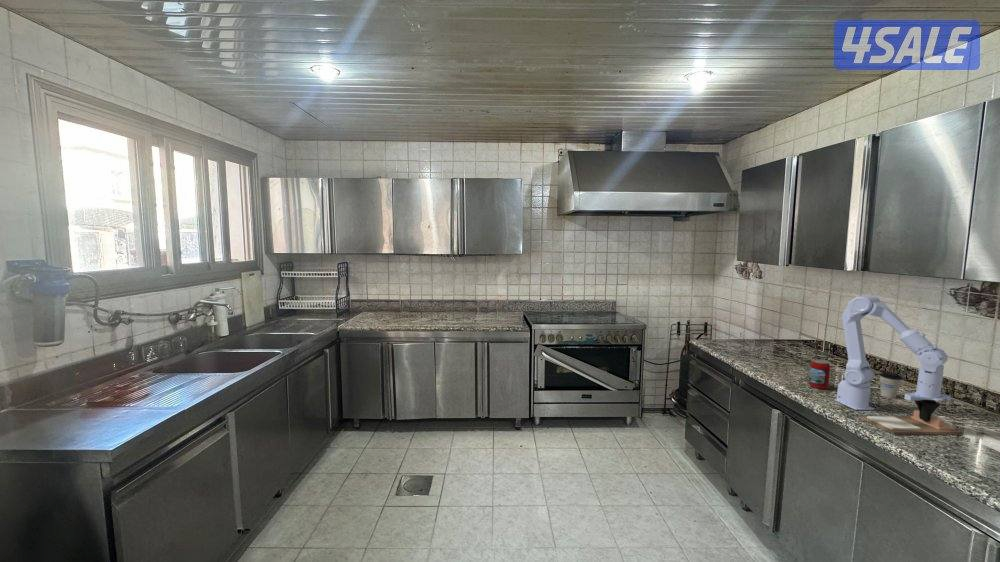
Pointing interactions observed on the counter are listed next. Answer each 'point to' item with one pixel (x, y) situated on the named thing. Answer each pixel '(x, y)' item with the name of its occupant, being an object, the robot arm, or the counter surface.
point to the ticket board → (906, 426)
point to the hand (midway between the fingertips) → (924, 419)
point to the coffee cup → (889, 384)
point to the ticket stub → (933, 422)
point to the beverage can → (819, 374)
